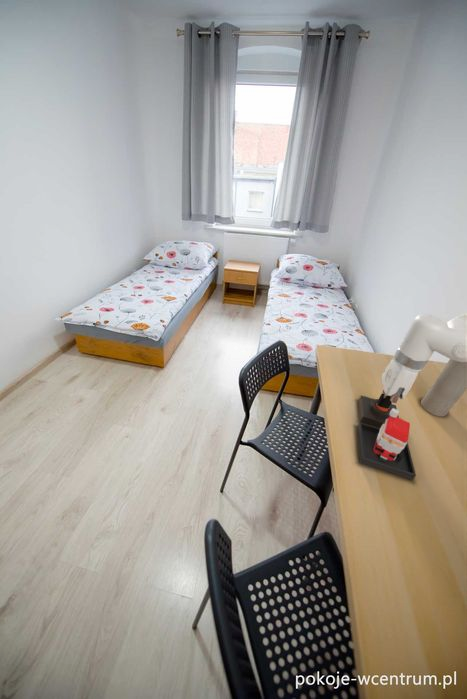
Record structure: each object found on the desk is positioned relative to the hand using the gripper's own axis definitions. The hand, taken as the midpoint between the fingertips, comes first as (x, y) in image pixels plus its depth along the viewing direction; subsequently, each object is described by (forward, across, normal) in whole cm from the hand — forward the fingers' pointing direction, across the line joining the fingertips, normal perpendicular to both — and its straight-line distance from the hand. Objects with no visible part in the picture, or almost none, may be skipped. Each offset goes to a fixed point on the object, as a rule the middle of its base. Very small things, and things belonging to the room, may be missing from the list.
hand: (382, 405), depth 86 cm
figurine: (+4, +14, +1) cm, 15 cm away
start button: (+2, 0, 0) cm, 2 cm away
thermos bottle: (+5, -13, +20) cm, 25 cm away
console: (+5, 0, 0) cm, 5 cm away
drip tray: (+5, +14, 0) cm, 15 cm away
